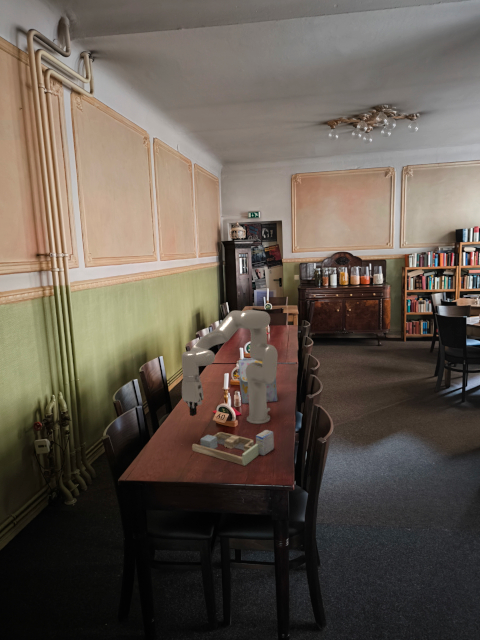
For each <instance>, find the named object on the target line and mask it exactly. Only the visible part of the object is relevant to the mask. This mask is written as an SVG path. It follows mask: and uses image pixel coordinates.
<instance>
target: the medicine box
mask: <svg viewBox="0 0 480 640" xmlns="http://www.w3.org/2000/svg"><path fill="white" fill-rule="evenodd" d="M255 444H258V446H259V456H260V455H261V456H265V455H266V454H268V453H270V452H271V451H273V450H274V448H275V441H274V431H271V430H268V429H264V430H263V431H262V432H260V433H258V434H256V435H255Z"/></svg>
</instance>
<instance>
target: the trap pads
mask: <svg viewBox="0 0 480 640" xmlns="http://www.w3.org/2000/svg"><path fill="white" fill-rule="evenodd" d="M224 441H225V440H224V439H219V440H218V441H217V445H218V444H219V445H222V446H224ZM244 446H245V445H244V444H240V443H239V444H238V445H236V446H235V447H233V449H237V450H240V451H244Z"/></svg>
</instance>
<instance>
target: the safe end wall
mask: <svg viewBox="0 0 480 640" xmlns="http://www.w3.org/2000/svg"><path fill="white" fill-rule="evenodd" d="M258 456H260V454H259V446H258V444H256V443H254V446H252V447H251V448H250V449H248V450H247V451H246V452H244V451H243V453H242V454H241V457H242V462H243V465H242V466H247V465H248V464H249V463H251V462H252V461H253V460H254V459H255V458H257V457H258Z"/></svg>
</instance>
